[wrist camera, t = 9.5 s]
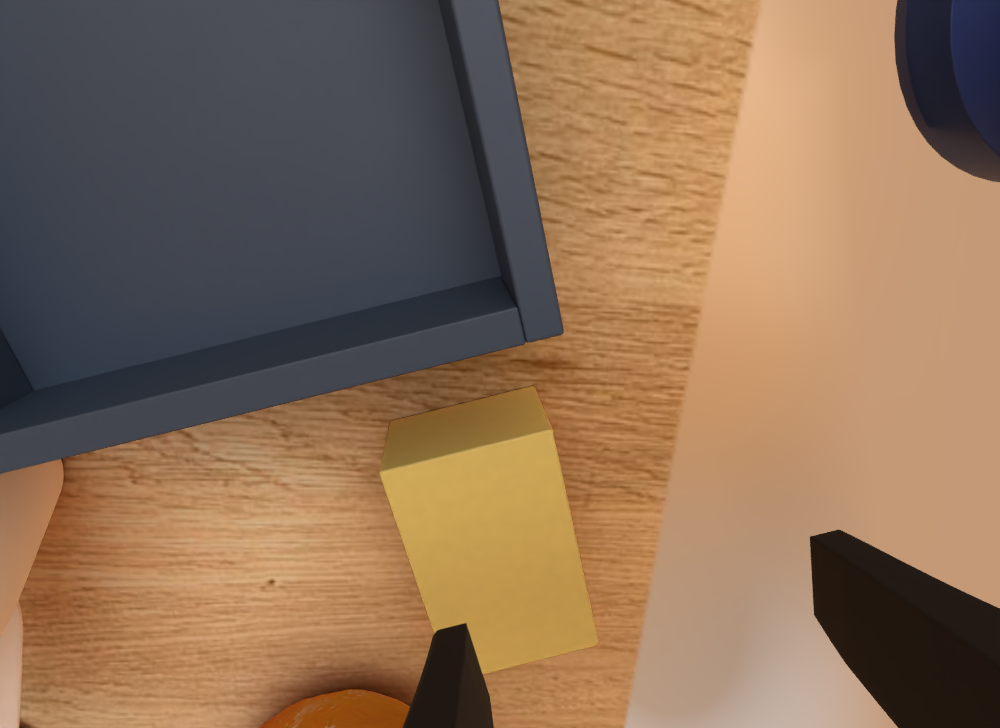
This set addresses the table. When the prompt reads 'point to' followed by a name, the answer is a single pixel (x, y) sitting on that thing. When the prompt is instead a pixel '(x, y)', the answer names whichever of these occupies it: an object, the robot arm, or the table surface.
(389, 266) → the bin
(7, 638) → the mug
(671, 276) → the table surface
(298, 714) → the fruit
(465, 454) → the notepads
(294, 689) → the table surface
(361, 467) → the table surface
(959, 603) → the robot arm
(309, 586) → the table surface
